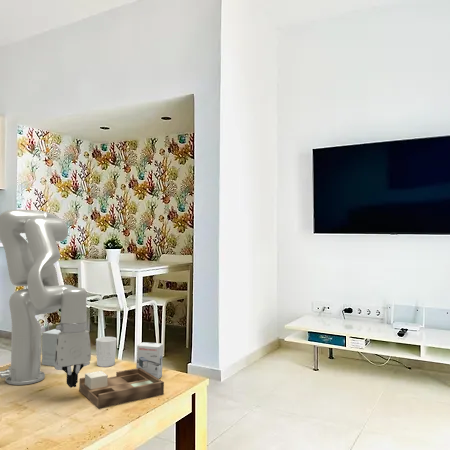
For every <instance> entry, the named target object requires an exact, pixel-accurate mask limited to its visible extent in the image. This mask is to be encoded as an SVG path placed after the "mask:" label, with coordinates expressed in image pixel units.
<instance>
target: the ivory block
mask: <svg viewBox="0 0 450 450" xmlns="http://www.w3.org/2000/svg"><path fill="white" fill-rule="evenodd" d="M84 378H85V385H86V386H87V387H88V388H90V389H95V388H100V387H106V386H107V380H108V378H109V377H108V374H106V373H105V372H104V371H102V370H99V371H97V370H96V371H92V372H87V373H84Z"/></svg>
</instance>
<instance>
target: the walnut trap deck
mask: <svg viewBox="0 0 450 450" xmlns="http://www.w3.org/2000/svg"><path fill="white" fill-rule="evenodd" d="M115 375H116V376H111V377H108V380H107V386H106V387H100V388H95V389H90V388H88V387H87V386H86V385H85V377H80V378H79V379H78V380H79V381H78V382H79V386H78V389H79V392H80V393H81V394H82V395H83V396H84V397H86V398H87V399H88V401H90V402H91V404H92V403H93V405H94V406H95V407H96V408H97V409H98V410H99V409H105V408H109V407H113V406H118V405H122V404H126V403H130V402H131V403H132V402H136V401H140V400H146V399H150V398H153V397H154V398H155V397H159V396H162V395H164V391H165V382H164V381H163V380H161V379H160V378H159V379H158V378H156V377H155V376H153V375H151V374H149V373H148V372H146V371H144V370H143V369H141V368H136V367H135V368H131V369H125V370H120V371H116V373H115Z"/></svg>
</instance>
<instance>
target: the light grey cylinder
mask: <svg viewBox="0 0 450 450" xmlns="http://www.w3.org/2000/svg"><path fill="white" fill-rule="evenodd" d="M117 341H118V339H117V337H114V336H101V337H97V338H96V339H95V342H96V343H95V348H96V349H95V351H96V352H95V353H96V366H98V367H101V368H102V367H103V368H107V367H112V366H114V365H115V363H116V353H117Z"/></svg>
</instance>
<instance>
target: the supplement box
mask: <svg viewBox="0 0 450 450" xmlns="http://www.w3.org/2000/svg"><path fill="white" fill-rule="evenodd" d="M59 332H61V331H60V330H56V328H53V329H49V330H47V331H44V332H41V365H43V366H49V367H50V366H51V367H55V363H56V362H55V350H56V343H57V337H58V333H59Z"/></svg>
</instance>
